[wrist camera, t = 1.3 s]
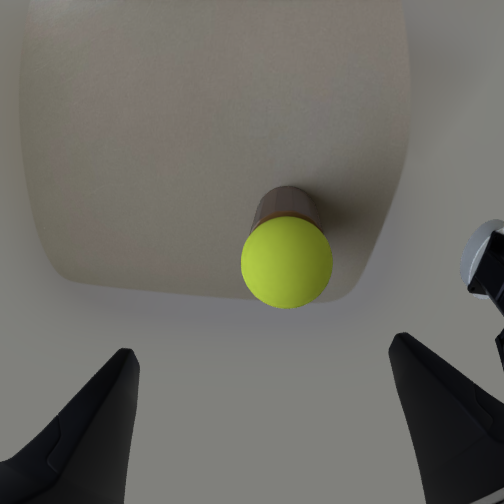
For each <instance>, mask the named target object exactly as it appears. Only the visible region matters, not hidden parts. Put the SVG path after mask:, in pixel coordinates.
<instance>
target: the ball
mask: <svg viewBox="0 0 504 504" xmlns="http://www.w3.org/2000/svg"><path fill="white" fill-rule="evenodd" d="M332 266H333V258H332V252H331V248H330V246H329V243H328V241H327V239H326V238H325V236H324V235H323V234H322V232H321V231H320V230H319V229H318V228H317V227H316V226H314V225H313V224H311V223H310V222H308V221H306V220H303V219H300V218H296V217H289V216H287V217H277V218H274V219H271V220H268V221H266V222H264V223H263V224H261V225H260V226H258V227H257V228H256V229H255V230H254V231H253V232H252V233H251V235H250V236H249V237H248V239H247V241H246V243H245V245H244V248H243V251H242V256H241V269H242V274H243V278H244V280H245V283H246V285H247V286H248V288H249V289H250V291H251V292H252V293H253V294H254V295H255V296H256V297H257V298H258V299H260V300H261V301H262V302H264V303H266V304H268V305H270V306H273V307H277V308H284V309H287V308H288V309H290V308H297V307H300V306H303V305H305V304H308V303H309V302H311V301H313V300H314V299H315V298H317V297H318V296H319V295H320V294H321V293H322V291H323V290H324V289H325V287H326V286H327V284H328V282H329V279H330V277H331V273H332Z"/></svg>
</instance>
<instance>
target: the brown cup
mask: <svg viewBox="0 0 504 504" xmlns="http://www.w3.org/2000/svg"><path fill="white" fill-rule="evenodd" d="M287 216H289V217H296V218H300V219H303V220H306V221H308V222H310V223H311V224H313V225H314V226H316V227H317V228H318V229H319V230H320V231H321V232H322V234H323V235H324V233H323V230H322V226H321V223H320V219H319V216H318V213H317V209H316V206H315V204H314V202H313V200H312V199H311V198H310V196H309V195H308V194H307V193H305V192H304V191H302V190H300V189H298V188H295V187H290V186H283V187H278V188H275V189H273V190H271V191H269V192H268V193H267V194H266V195H265V196H264V197H263V198H262V199H261V201H260V203H259V205H258V207H257V210H256V214H255V217H254V221H253V224H252V227H251V231H250V235H251V233H252V232H253V231H254V230H255V229H256V228H257V227H258V226H260V225H261V224H263V223H264V222H266V221H268V220H271V219H274V218H277V217H287ZM250 235H249V236H250Z"/></svg>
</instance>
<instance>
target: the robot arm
mask: <svg viewBox="0 0 504 504" xmlns="http://www.w3.org/2000/svg"><path fill="white" fill-rule="evenodd" d="M468 291H469V292H470V293H473V294H480V295H488V296H489V297H490V299H491V300H492V301H493V303H494V304H495V305H496V307H497V308H498V309H499V311H500V312H501V313H502V315H503V316H504V234H503V233H500V232H497V231H493V232H492V234H491V236H490V238H489V241H488V243H487V246H486V248H485V251H484V253H483V255H482V258H481V260H480V262H479V264H478V267H477V269H476V271H475V273H474V275H473V277H472V279H471V281H470V283H469V285H468ZM495 342H496V345H497V348H498V352H499V355H500V359H501V363H502V367H503V370H504V329H503V330H502V332H501V333H500V334H499V335H498V336H497V337H496V339H495ZM389 358H390V362H391V366H392V371H393V375H394V380H395V384H396V388H397V392H398V395H399V398H400V401H401V405H402V408H403V411H404V414H405V417H406V421H407V424H408V427H409V431H410V434H411V439H412V442H413V446H414V450H415V453H416V458H417V462H418V466H419V470H420V475H421V480H422V485H423V490H424V495H425V500H426V504H504V404H503V403H502V402H500V401H499V400H497V399H496V398H494V397H493V396H491V395H490V394H488V393H487V392H486V391H484V390H483V389H481V388H480V387H479V386H478V385H476V384H475V383H474V382H472V381H471V380H470V379H469V378H467V377H466V376H465V375H463V374H462V373H461V372H459V371H458V370H457V369H455V368H454V367H452V366H451V365H450V364H449V363H447V362H446V361H445V360H444V359H442V358H441V357H439V356H438V355H437V354H436V353H434V352H433V351H431V350H430V349H429V348H427V347H426V346H425V345H423V344H422V343H421V342H419V341H418V340H417V339H415V338H414V337H412V336H411V335H410V334H408V333H406V332H403V333H398V334H396V335H395V337H394V339H393V341H392V344H391V346H390V348H389ZM139 373H140V366H139V362H138V360H137V358H136V356H135V354H134V352H133V350H132V349H128V348H121V349H119V350H118V351H117V352H116V353H115V354H114V355H113V356H112V357H111V358H110V359H109V360H108V361H107V362H106V364H105V365H104V366H103V367H102V368H101V369H100V370H99V371H98V372H97V373H96V374H95V375H94V376H93V377H92V378H91V379H90V380H89V381H88V382H87V384H85V386H84V387H83V388H82V389H81V390H80V391H79V392H78V393H77V394H76V395H75V396H74V397H73V398H72V399H71V400H70V402H69V403H68V404H67V405H66V406H65V407H64V408H63V409H62V410H61V411H60V412H59V413H58V415H57V416H56V417H55V418H54V419H53V420H52V421H51V422H50V423H49V424H48V425H47V426H46V427H45V428H44V429H43V430H42V431H41V432H40V433H39V434H38V435H37V436H36V437H35V438H34V439H33V440H32V441H30V442H29V443H28V444H27V445H26V446H25V447H24V448H22V449H21V450H20V451H19V452H18V453H17V454H16V455H14V456H13V457H12V458H10V459H8V460H5V461H2V462H0V504H124V495H125V485H126V476H127V468H128V460H129V453H130V446H131V439H132V433H133V427H134V421H135V416H136V409H137V398H138V385H139Z"/></svg>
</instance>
